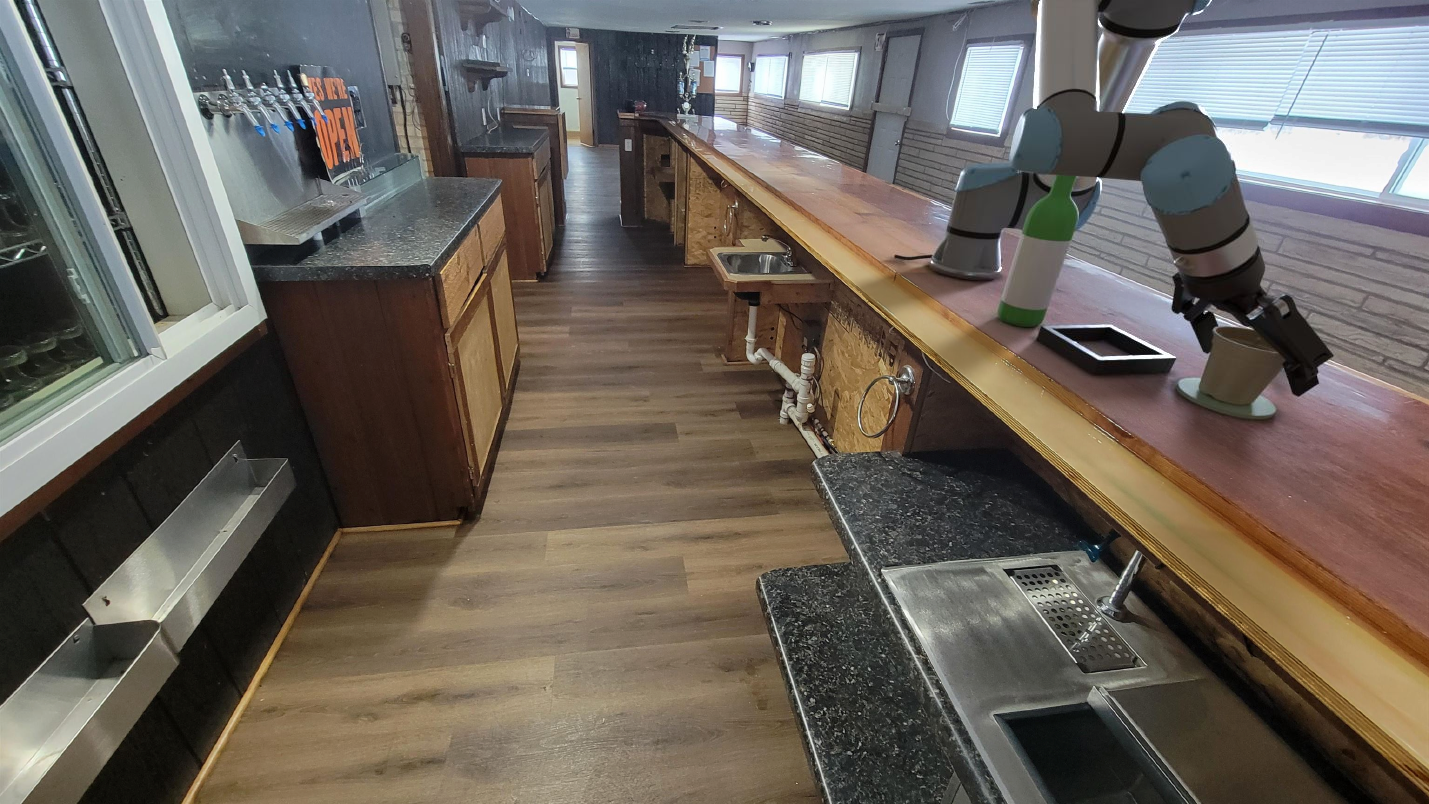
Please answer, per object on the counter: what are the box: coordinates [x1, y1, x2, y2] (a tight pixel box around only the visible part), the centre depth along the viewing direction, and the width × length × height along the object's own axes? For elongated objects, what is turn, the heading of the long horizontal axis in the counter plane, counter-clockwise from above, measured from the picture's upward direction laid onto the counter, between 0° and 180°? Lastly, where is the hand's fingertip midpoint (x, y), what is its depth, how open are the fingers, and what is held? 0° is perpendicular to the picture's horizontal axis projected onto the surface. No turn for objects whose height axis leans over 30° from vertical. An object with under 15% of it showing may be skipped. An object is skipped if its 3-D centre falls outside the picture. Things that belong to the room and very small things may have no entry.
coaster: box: [1175, 377, 1277, 420], centre depth 79 cm, size 11×11×1 cm
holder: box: [1035, 324, 1177, 376], centre depth 91 cm, size 13×13×2 cm
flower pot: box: [1198, 325, 1286, 405], centre depth 77 cm, size 9×9×9 cm
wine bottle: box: [997, 175, 1079, 328], centre depth 96 cm, size 8×8×30 cm
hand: (1256, 366), depth 78 cm, fingers open, 12 cm apart
